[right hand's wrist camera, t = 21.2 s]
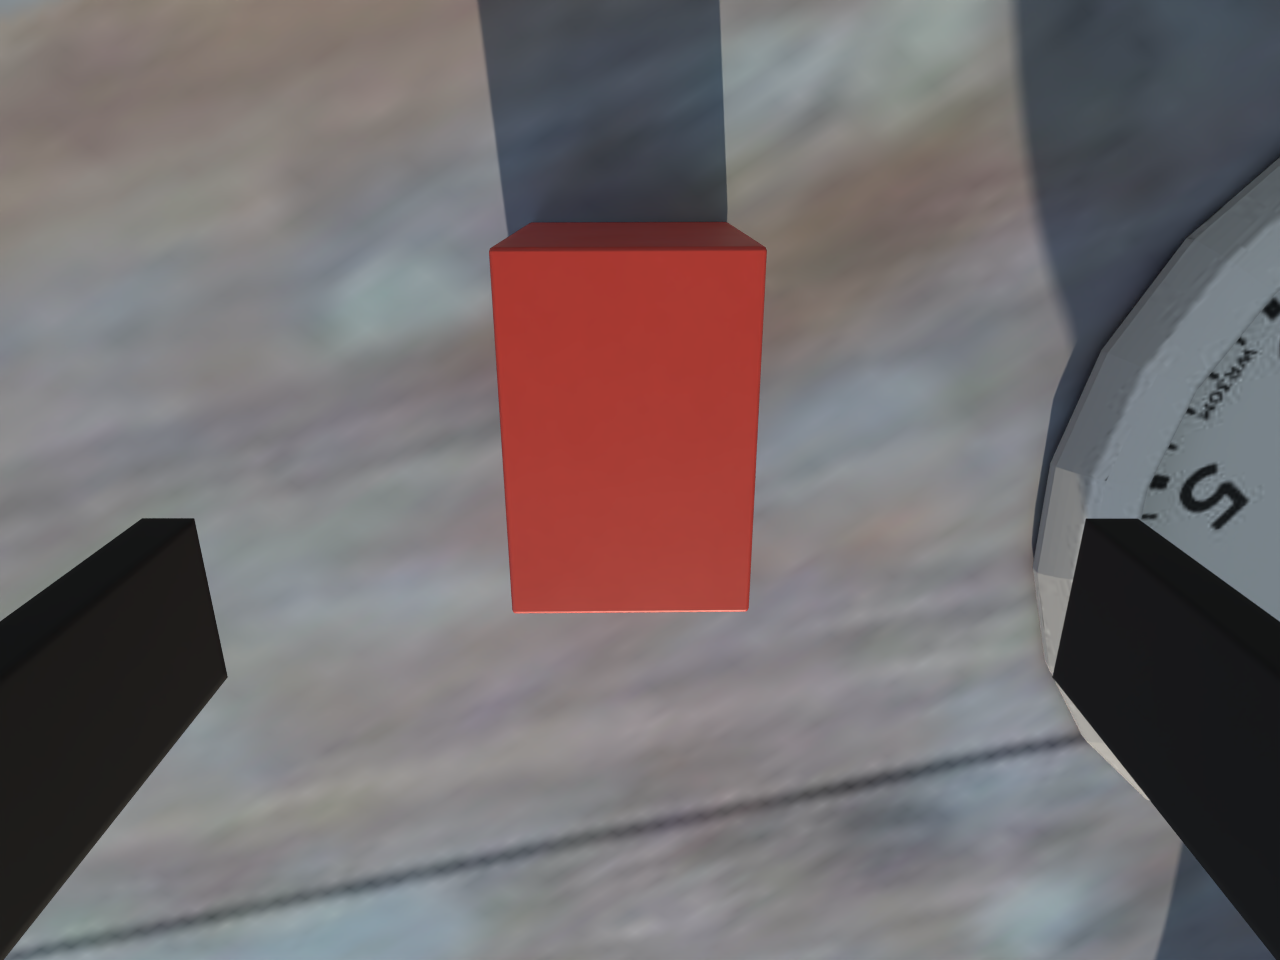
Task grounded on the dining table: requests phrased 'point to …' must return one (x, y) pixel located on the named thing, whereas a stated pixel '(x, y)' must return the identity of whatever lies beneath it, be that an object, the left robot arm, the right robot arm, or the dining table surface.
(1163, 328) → the wall clock
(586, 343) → the block
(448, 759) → the dining table surface
